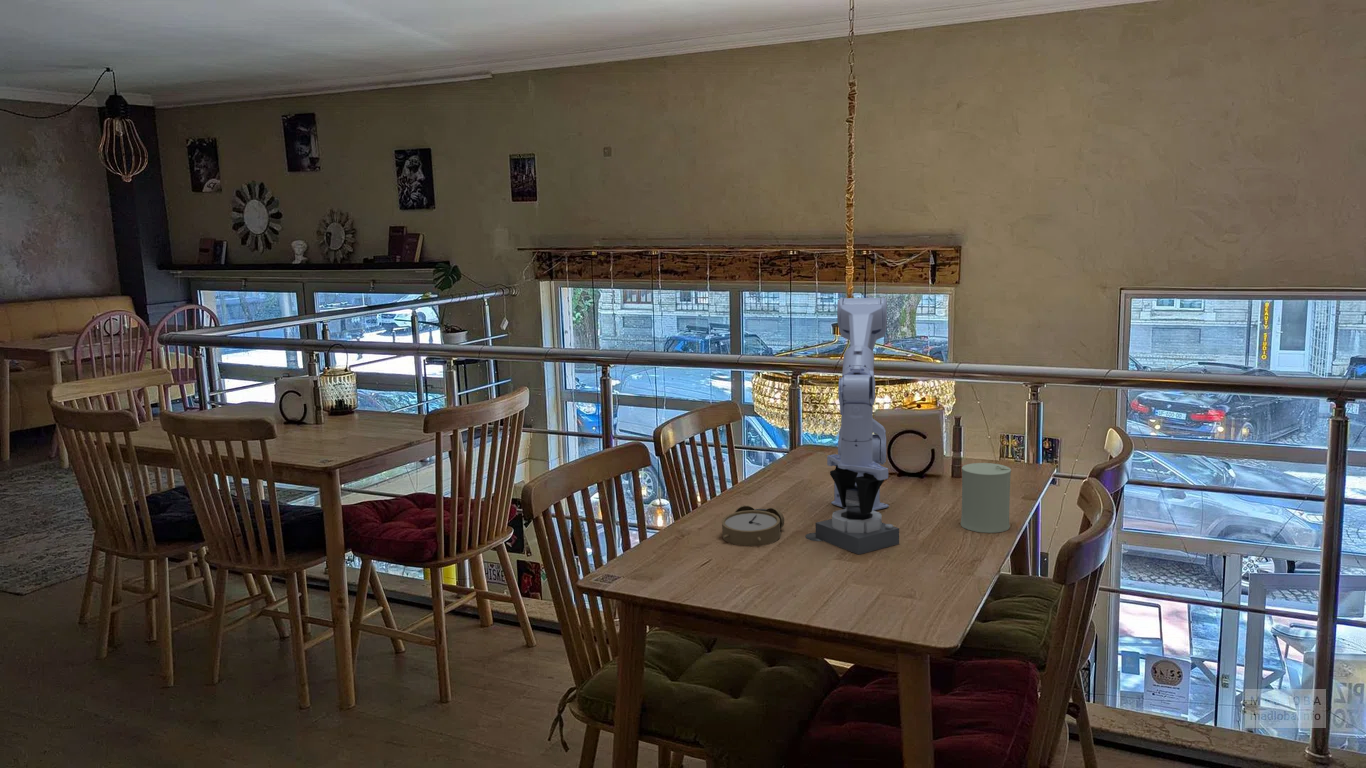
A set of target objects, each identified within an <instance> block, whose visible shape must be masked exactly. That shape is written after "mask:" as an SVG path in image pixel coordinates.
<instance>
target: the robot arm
mask: <svg viewBox="0 0 1366 768" xmlns="http://www.w3.org/2000/svg"><path fill="white" fill-rule="evenodd" d="M836 308H837V311H836V315H837V316H836V317H837V318H836V319H837V326H838V330H839V333H840V337H842V338H844V339H846V340H849V346H850V347H848V348H847V349H846V350H845V351H844V353H843V361H842V370H841V371H842V373H841V376H840V377H839V379H838V386H837V388H838V389H837V390H838V392H837V394H838V395H837V396H838V397H837V398H838V403H839V415H840V416H841V417H840V421H841V422H840V424H841V425H840V428H839V429H838V440H837V454H836V453H833V454H829V455H827V456H826V459H827V463H826V464H827V466H829V467H835V468H834V469H832V470H830V471H829V475H830V477H831V478H832V480H833V482H834V485H833V486H834V487H833V488H834V491H833V492H834V495H833V496H834V497H833V498H834V500H832V501H831V504H832V505H834V506H837V507H840V508H843V509H846V501H845V498H846V488H847V487H849V486H857V488H858V492H859V498H860V511H861V513H862V514H867V513H871V512H872V510H873V511H878V510H882V509H886V508H889V507H890V505H889V504H887V503H884V502H880V499H881V498H880V497H881V493H880V492H881V491H880V490H881V486H882V484H883V483H884V481H885V480H888V479H889V468H888V467H884V466H883V465H884V464H885V463H886V462H887V436H886V432H887V431H886V428H885V426H883V424H881V423H880V422H879V421H877V420H876V419H875V418H873V416H874V415H873V414H874V411H873V407H874V405H875V401H876V379H875V373H874V371H875V368H874V366H875V354H874V349H875V346H876V342H877V340H880V339H882V338H884V337H885V336H886V333H887V324H888V323H887V322H888V321H887V320H888V301H887V298H886V297H885V296H881V297H850V298H849V297H846V298H845V297H839V298H838V300H837V307H836Z"/></svg>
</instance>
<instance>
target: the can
mask: <svg viewBox="0 0 1366 768" xmlns="http://www.w3.org/2000/svg"><path fill="white" fill-rule="evenodd" d="M1011 474H1012V469H1011V467H1009V466H1006V465H1004V464H999V463H990V462H974V463H968V464H964V465H963V466H962V467H961V477H962V479H961V516H960V517H961V519H960V526H961V528H963V529H965V530H968V531H971V532H977V533H982V534H985V533H986V534H995V533H997V534H998V533H1003V532H1006V531H1009V529H1010V528H1011V525H1010V504H1011V503H1010V502H1011V501H1010V500H1011V499H1010V495H1011V493H1010V492H1011Z"/></svg>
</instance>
